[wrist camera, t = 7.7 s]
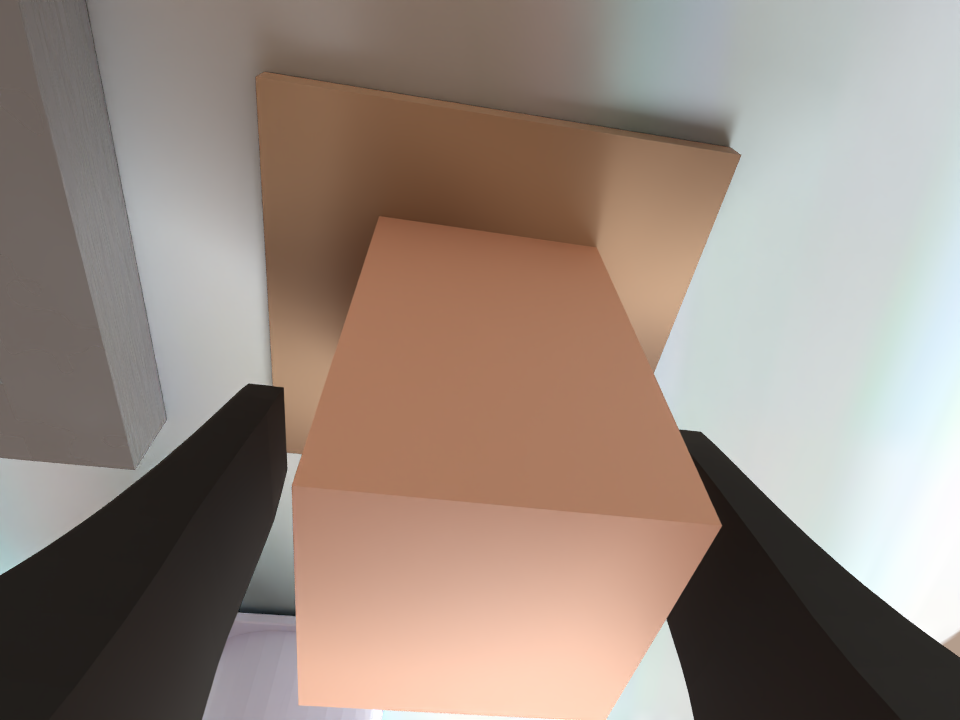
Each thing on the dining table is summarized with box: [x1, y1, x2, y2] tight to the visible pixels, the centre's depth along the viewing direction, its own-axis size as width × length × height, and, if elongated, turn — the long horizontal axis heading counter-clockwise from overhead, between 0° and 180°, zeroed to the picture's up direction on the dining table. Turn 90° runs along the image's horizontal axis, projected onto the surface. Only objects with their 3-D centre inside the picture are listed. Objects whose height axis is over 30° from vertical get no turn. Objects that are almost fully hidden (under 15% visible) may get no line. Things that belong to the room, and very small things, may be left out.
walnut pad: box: [255, 72, 741, 454], centre depth 15 cm, size 10×10×1 cm
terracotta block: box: [292, 216, 722, 720], centre depth 11 cm, size 5×5×8 cm
